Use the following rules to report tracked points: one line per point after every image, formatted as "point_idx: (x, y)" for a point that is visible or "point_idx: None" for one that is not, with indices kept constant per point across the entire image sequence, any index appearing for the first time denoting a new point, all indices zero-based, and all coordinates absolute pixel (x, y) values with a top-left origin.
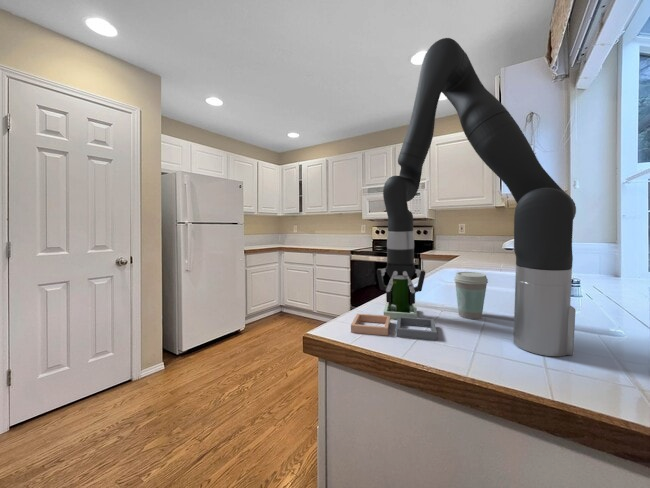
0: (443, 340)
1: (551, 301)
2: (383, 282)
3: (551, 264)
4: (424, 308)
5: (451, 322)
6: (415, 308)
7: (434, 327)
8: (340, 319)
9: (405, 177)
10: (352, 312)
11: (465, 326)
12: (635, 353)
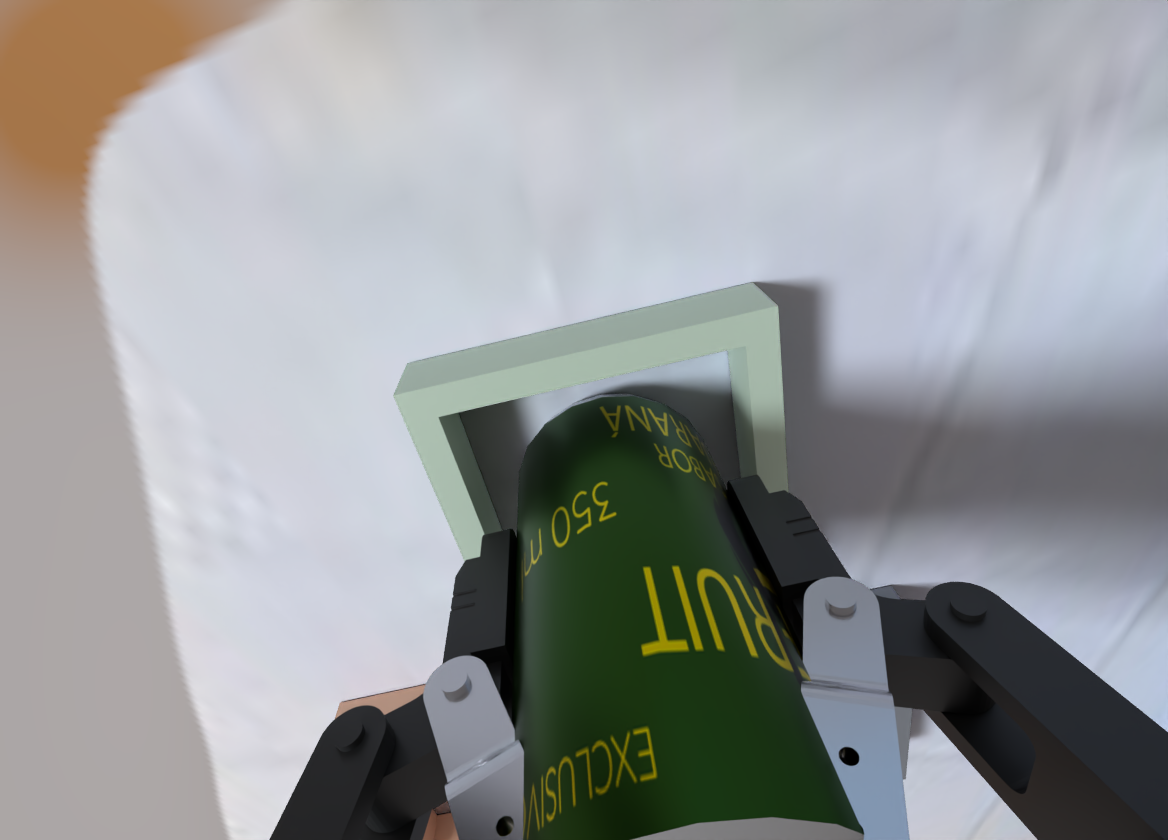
0: (916, 723)
1: None
2: (362, 820)
3: None
4: (851, 140)
5: (1046, 467)
6: (773, 447)
7: (902, 734)
8: (226, 738)
9: None
10: (181, 600)
11: (1127, 501)
12: None
